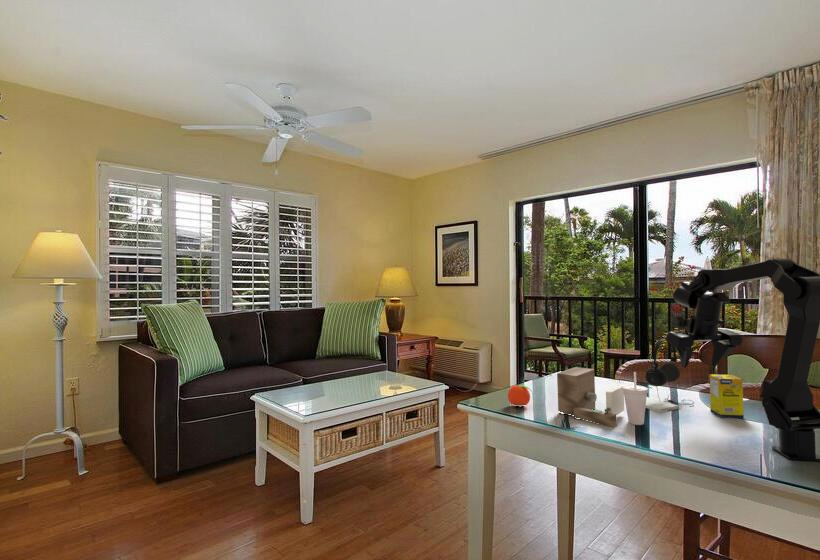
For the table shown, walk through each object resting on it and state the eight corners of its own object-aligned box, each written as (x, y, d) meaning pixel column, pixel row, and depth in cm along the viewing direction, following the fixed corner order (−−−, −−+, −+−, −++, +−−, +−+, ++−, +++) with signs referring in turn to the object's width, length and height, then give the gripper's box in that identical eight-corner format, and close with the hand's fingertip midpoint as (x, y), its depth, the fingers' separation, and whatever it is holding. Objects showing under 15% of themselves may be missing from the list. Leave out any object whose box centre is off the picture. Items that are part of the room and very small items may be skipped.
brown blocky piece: (631, 415, 124) (630, 373, 125) (613, 427, 115) (612, 382, 115) (576, 404, 136) (575, 367, 136) (555, 414, 127) (554, 374, 127)
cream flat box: (624, 410, 124) (623, 386, 125) (608, 419, 117) (607, 394, 117) (618, 409, 126) (618, 385, 126) (603, 418, 118) (602, 393, 118)
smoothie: (625, 425, 116) (623, 373, 116) (621, 418, 122) (619, 369, 122) (652, 427, 114) (650, 374, 114) (646, 419, 120) (644, 369, 120)
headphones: (681, 411, 127) (679, 343, 127) (642, 403, 136) (640, 340, 136) (702, 402, 135) (700, 338, 135) (664, 395, 145) (662, 335, 145)
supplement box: (744, 418, 119) (743, 378, 119) (720, 417, 121) (719, 378, 121) (733, 411, 125) (731, 374, 125) (710, 411, 126) (708, 374, 126)
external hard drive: (643, 400, 141) (679, 410, 130) (625, 403, 138) (660, 414, 127) (643, 395, 141) (679, 404, 130) (624, 398, 138) (659, 408, 127)
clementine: (536, 405, 137) (535, 383, 137) (530, 411, 131) (529, 388, 131) (511, 402, 141) (511, 381, 141) (505, 408, 135) (504, 385, 135)
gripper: (715, 304, 127) (706, 354, 130) (656, 306, 125) (649, 357, 128) (748, 316, 116) (738, 369, 120) (684, 319, 114) (676, 373, 117)
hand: (698, 366), depth 121 cm, fingers open, 9 cm apart
